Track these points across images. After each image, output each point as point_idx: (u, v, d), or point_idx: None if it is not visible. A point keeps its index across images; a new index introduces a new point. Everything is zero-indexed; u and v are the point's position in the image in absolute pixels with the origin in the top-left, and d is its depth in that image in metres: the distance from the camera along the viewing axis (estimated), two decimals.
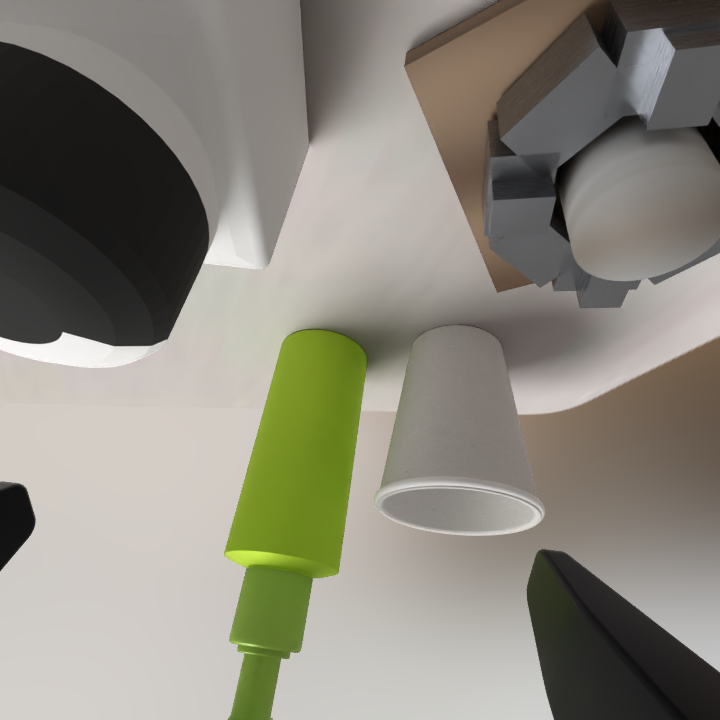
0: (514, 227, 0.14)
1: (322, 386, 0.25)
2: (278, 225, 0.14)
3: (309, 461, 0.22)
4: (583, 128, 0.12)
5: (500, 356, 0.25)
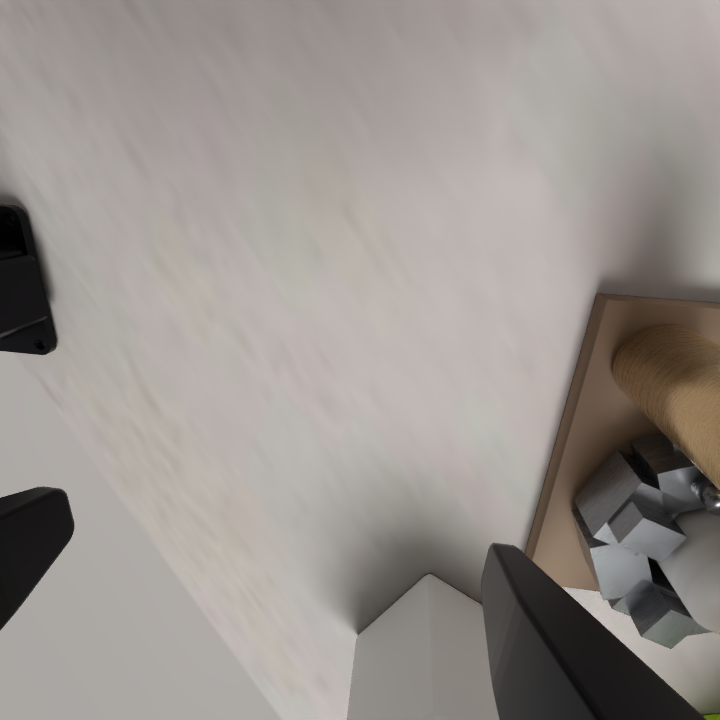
0: (676, 635, 0.17)
1: None
2: None
3: None
4: (635, 565, 0.18)
5: None
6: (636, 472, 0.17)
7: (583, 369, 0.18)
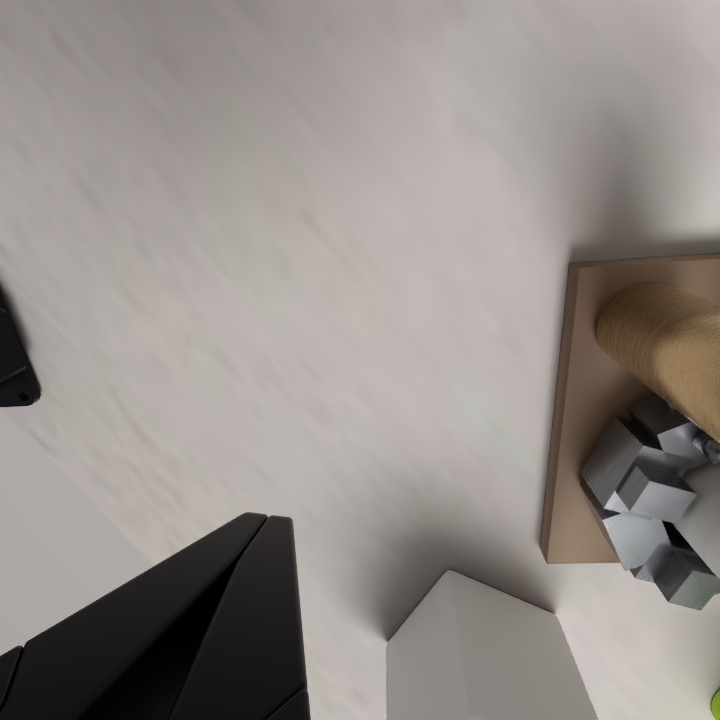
0: (703, 595, 0.17)
1: None
2: None
3: None
4: (651, 530, 0.17)
5: None
6: (636, 436, 0.16)
7: (568, 340, 0.17)
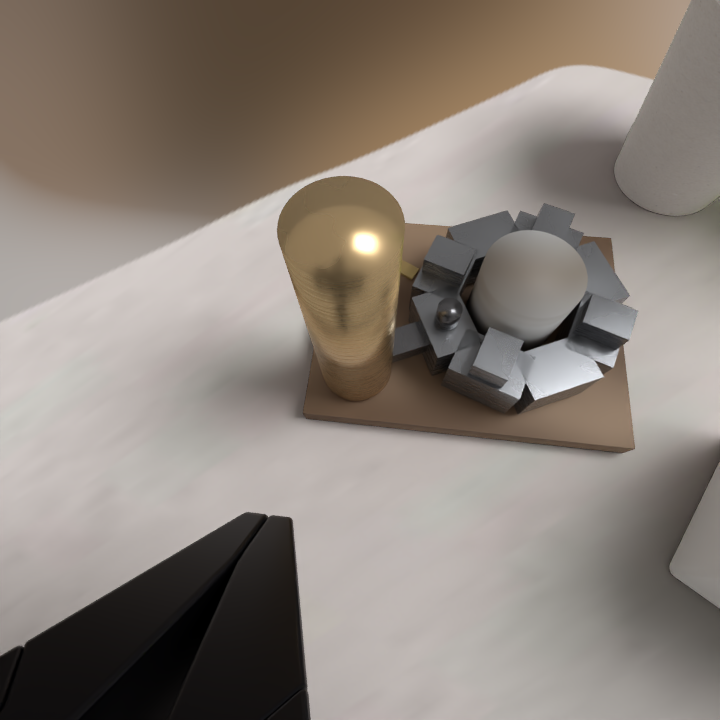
0: (617, 310, 0.17)
1: None
2: None
3: None
4: (548, 356, 0.18)
5: (626, 164, 0.24)
6: None
7: (367, 421, 0.20)
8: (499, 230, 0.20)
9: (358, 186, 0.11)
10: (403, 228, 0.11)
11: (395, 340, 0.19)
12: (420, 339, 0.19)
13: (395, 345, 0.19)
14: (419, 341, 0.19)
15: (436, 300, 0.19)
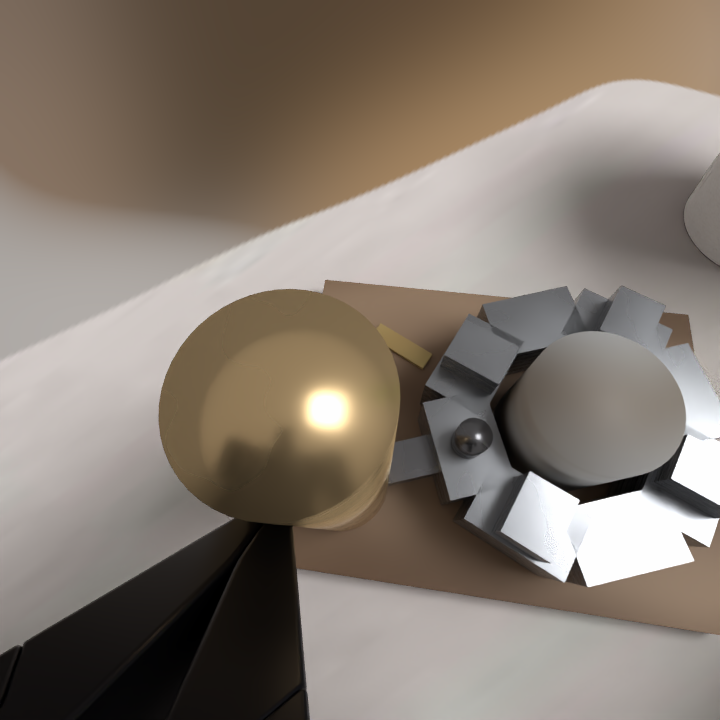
0: None
1: None
2: None
3: None
4: (611, 516, 0.12)
5: (705, 212, 0.18)
6: (462, 514, 0.13)
7: None
8: (553, 314, 0.15)
9: (324, 313, 0.06)
10: (396, 415, 0.06)
11: (394, 460, 0.14)
12: (429, 463, 0.14)
13: (393, 468, 0.14)
14: (427, 465, 0.14)
15: (456, 410, 0.14)
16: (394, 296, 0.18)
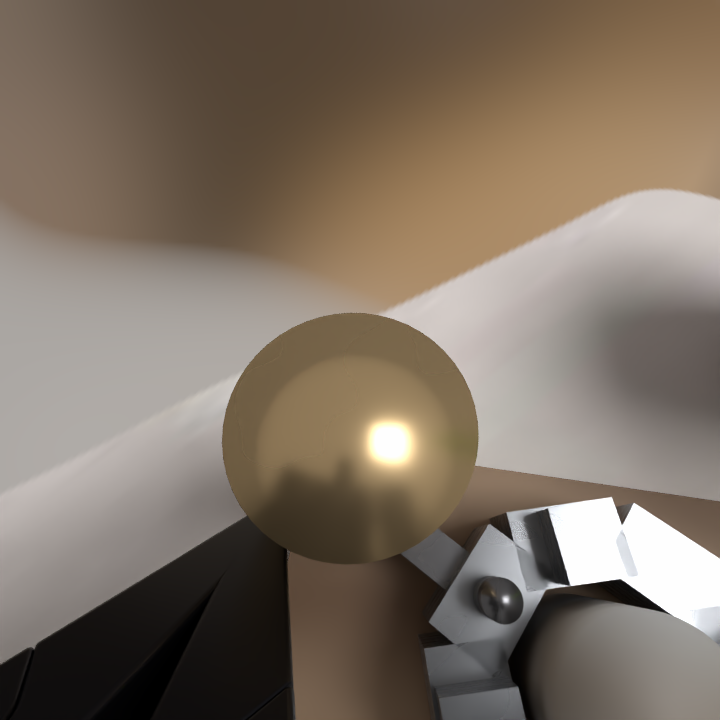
0: None
1: None
2: None
3: None
4: None
5: None
6: (427, 642, 0.12)
7: None
8: (699, 585, 0.11)
9: (448, 397, 0.06)
10: (415, 542, 0.05)
11: None
12: (444, 573, 0.12)
13: None
14: (441, 573, 0.12)
15: (510, 562, 0.12)
16: None
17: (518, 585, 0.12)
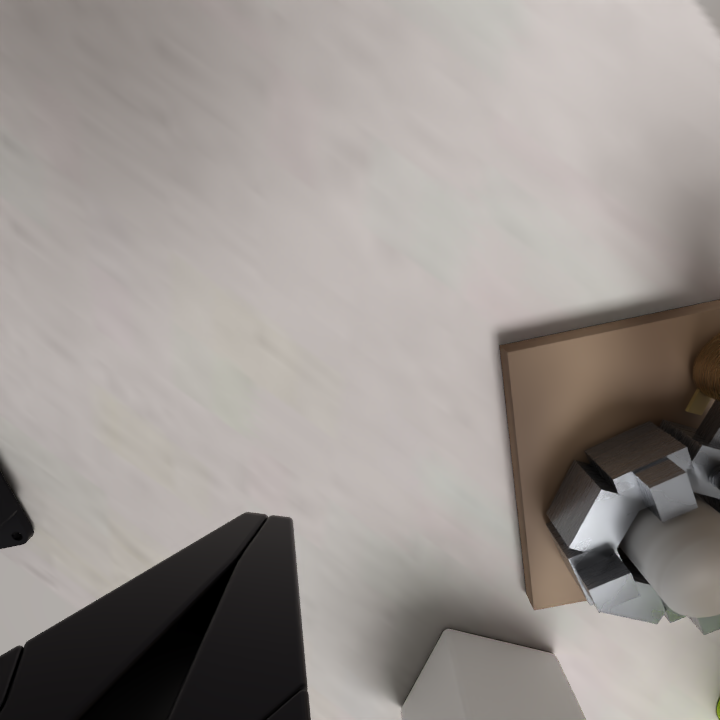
0: (613, 600, 0.18)
1: None
2: None
3: None
4: (619, 524, 0.18)
5: None
6: (674, 440, 0.18)
7: (511, 412, 0.19)
8: None
9: None
10: None
11: None
12: None
13: None
14: (719, 438, 0.17)
15: None
16: None
17: None
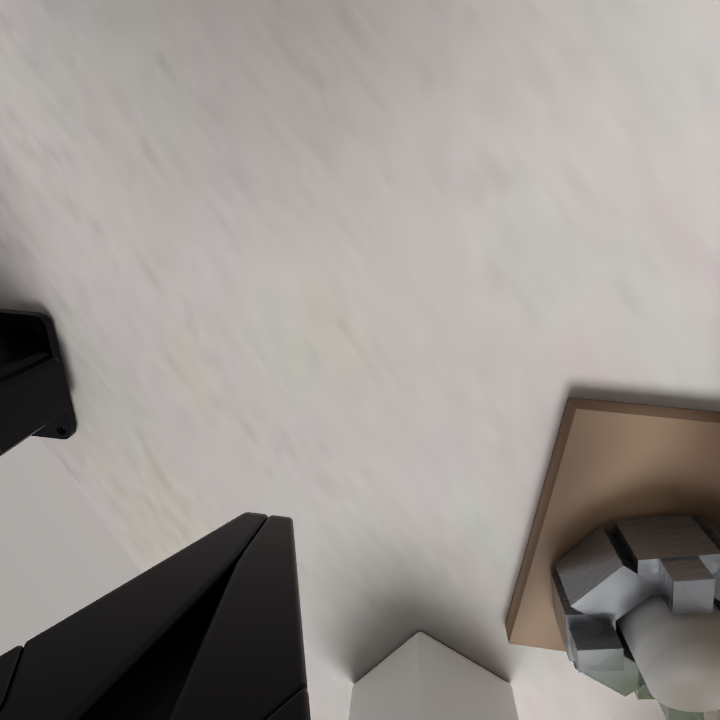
0: (596, 666, 0.19)
1: None
2: None
3: None
4: (626, 601, 0.18)
5: None
6: (710, 542, 0.18)
7: (557, 463, 0.19)
8: None
9: None
10: None
11: None
12: None
13: None
14: None
15: None
16: None
17: None
